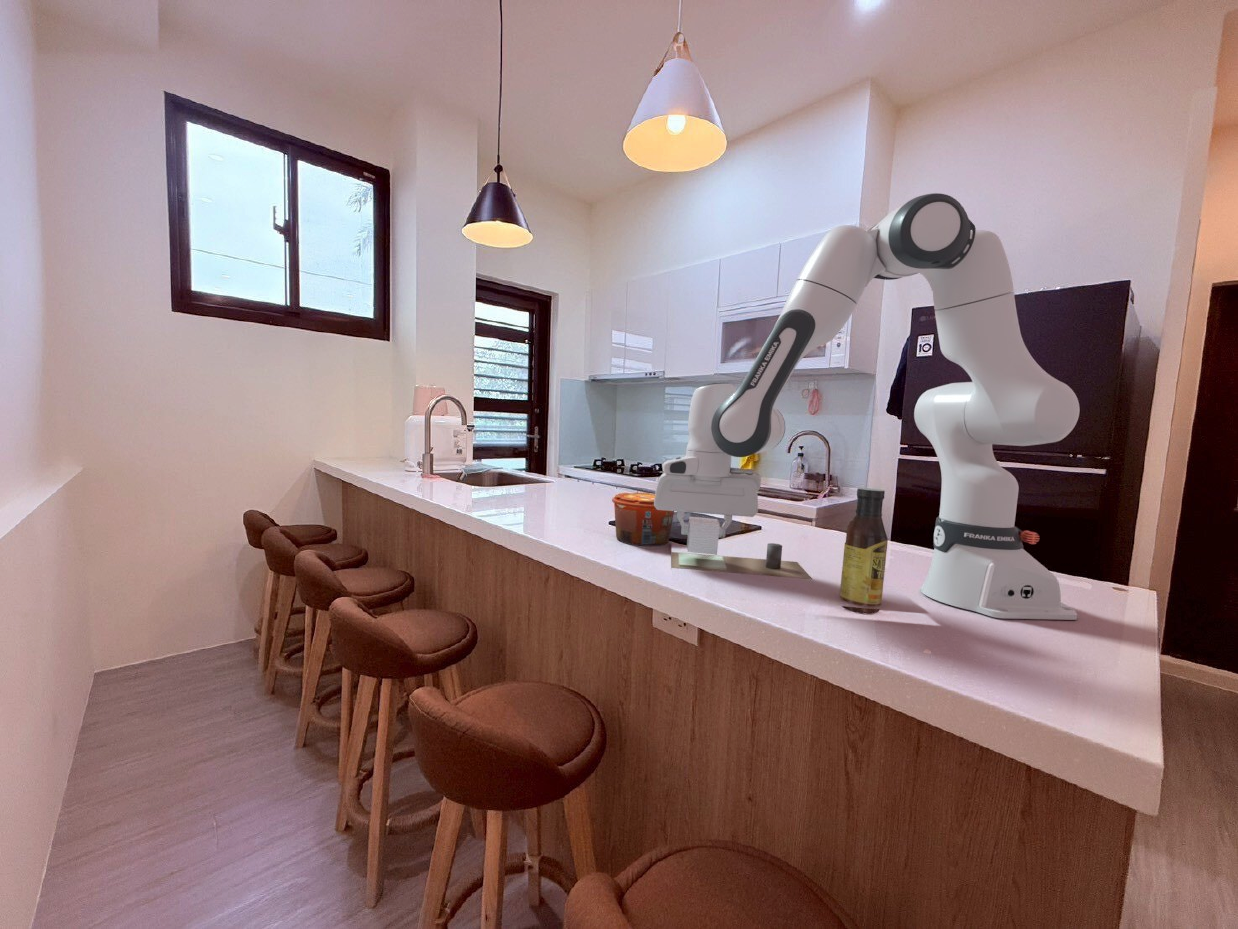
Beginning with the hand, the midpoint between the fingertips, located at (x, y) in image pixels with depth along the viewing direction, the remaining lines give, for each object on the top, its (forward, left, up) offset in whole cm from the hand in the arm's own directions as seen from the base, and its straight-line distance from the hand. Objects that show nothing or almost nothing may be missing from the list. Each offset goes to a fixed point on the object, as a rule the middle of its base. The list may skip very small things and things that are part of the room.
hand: (702, 535), depth 103 cm
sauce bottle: (-25, +16, -7) cm, 31 cm away
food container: (+13, -22, -7) cm, 27 cm away
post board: (-7, 0, -7) cm, 10 cm away
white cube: (0, 0, -3) cm, 3 cm away
